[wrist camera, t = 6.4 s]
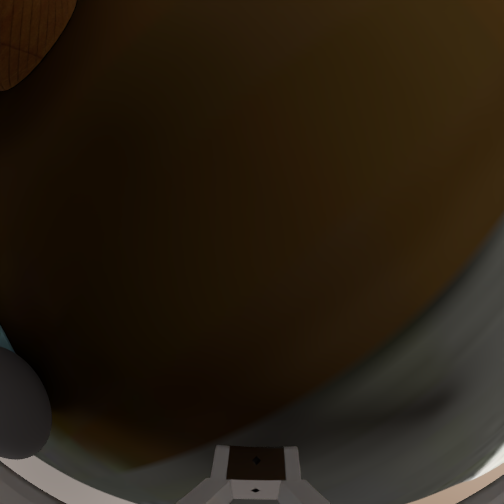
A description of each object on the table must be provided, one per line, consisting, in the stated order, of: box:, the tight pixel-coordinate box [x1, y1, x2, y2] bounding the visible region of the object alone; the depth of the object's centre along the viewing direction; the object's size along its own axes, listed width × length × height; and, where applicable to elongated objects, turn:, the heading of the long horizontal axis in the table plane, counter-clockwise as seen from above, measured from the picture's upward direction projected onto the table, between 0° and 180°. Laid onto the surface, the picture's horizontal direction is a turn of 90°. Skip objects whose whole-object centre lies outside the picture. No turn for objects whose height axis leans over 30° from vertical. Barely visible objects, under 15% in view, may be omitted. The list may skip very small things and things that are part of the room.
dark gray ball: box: [0, 347, 52, 459], centre depth 7 cm, size 6×6×6 cm
